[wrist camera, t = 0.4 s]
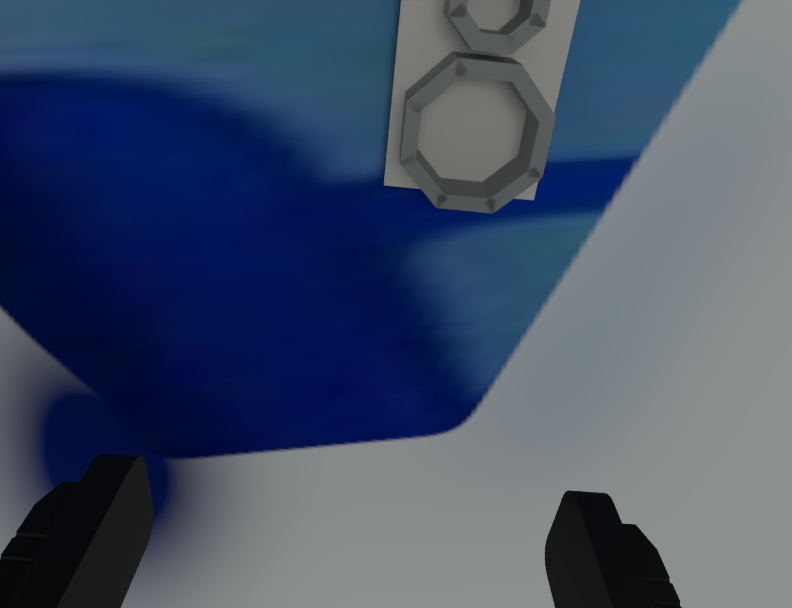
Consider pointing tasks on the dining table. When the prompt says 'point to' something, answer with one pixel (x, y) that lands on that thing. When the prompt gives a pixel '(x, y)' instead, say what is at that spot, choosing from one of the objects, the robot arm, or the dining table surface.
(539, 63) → the grey mounting plate
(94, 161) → the dining table surface
